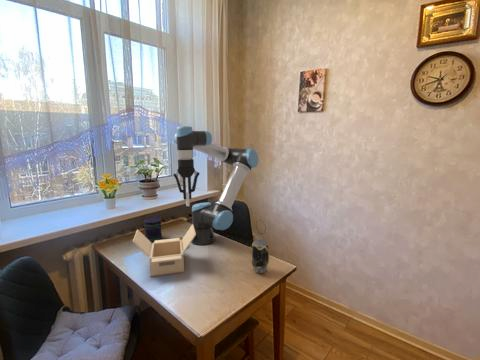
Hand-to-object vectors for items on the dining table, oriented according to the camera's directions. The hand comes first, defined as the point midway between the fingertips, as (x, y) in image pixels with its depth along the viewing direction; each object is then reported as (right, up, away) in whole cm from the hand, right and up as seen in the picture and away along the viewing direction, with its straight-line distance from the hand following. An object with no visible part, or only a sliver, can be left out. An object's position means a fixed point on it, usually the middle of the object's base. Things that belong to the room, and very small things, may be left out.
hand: (187, 205), depth 125 cm
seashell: (-10, -27, +17) cm, 34 cm away
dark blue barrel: (-27, -26, +27) cm, 46 cm away
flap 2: (0, -16, 0) cm, 16 cm away
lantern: (+36, -31, -4) cm, 48 cm away
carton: (-10, -30, 0) cm, 32 cm away
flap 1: (-20, -17, -5) cm, 27 cm away
